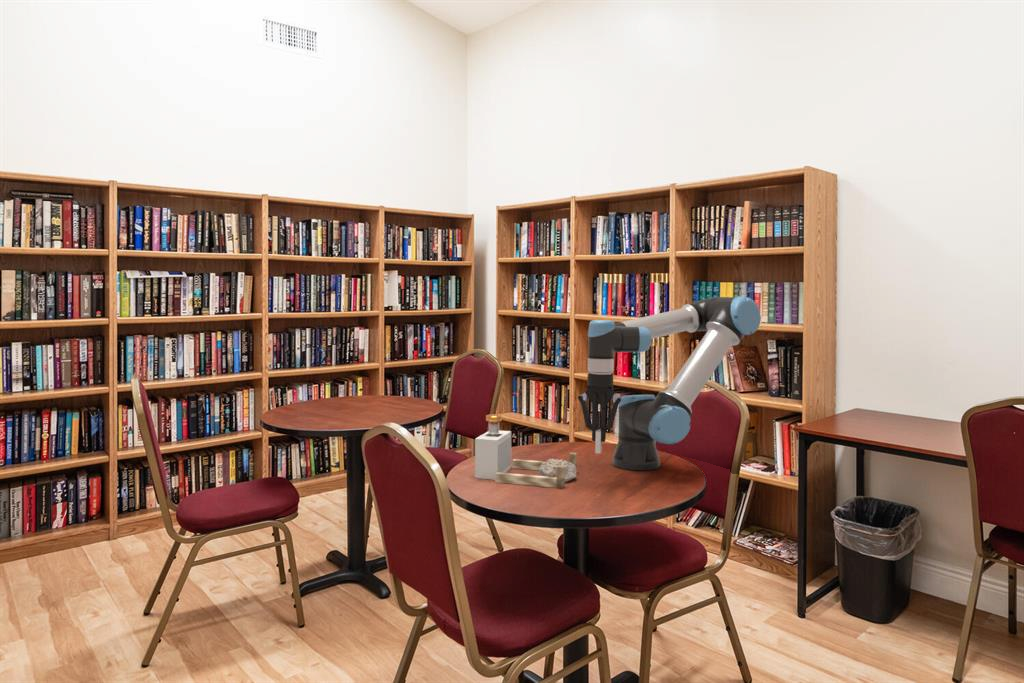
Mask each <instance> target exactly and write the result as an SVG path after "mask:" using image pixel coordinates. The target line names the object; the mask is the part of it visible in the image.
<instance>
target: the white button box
mask: <svg viewBox="0 0 1024 683" xmlns="http://www.w3.org/2000/svg"><path fill="white" fill-rule="evenodd" d="M474 445H475V448H474V461H475V462H474V468H475V469H474V478H475V479H482V480H483V479H484V480H494V481H495V474H496V473H497V472H502V473H508V472H509V471H510V470H511V469H512V431H511V430H500V429H499V437H495V436H489V430H488V431H485V433H483V434H480V435H478V436H477V437H476V438H475V439H474Z"/></svg>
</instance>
